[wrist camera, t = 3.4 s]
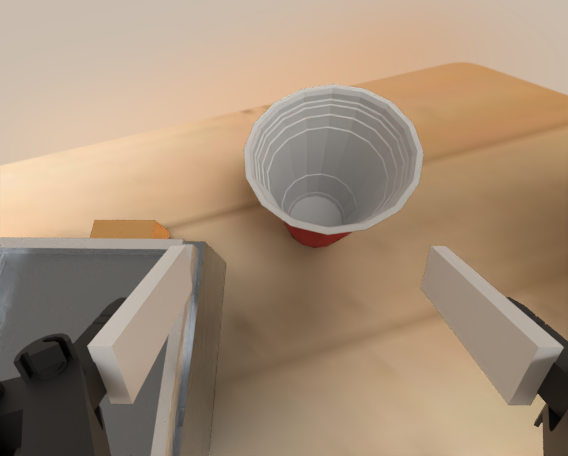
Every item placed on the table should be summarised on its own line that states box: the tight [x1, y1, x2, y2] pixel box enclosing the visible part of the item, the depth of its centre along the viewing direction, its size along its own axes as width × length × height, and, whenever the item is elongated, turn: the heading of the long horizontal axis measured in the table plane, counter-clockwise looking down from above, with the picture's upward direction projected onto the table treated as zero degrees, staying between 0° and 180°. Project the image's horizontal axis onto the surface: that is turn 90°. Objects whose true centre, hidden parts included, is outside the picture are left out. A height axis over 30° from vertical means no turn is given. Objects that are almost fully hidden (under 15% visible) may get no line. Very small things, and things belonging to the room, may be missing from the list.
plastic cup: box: [244, 84, 424, 248], centre depth 22 cm, size 11×11×12 cm
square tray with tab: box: [0, 220, 226, 456], centre depth 20 cm, size 15×17×8 cm
